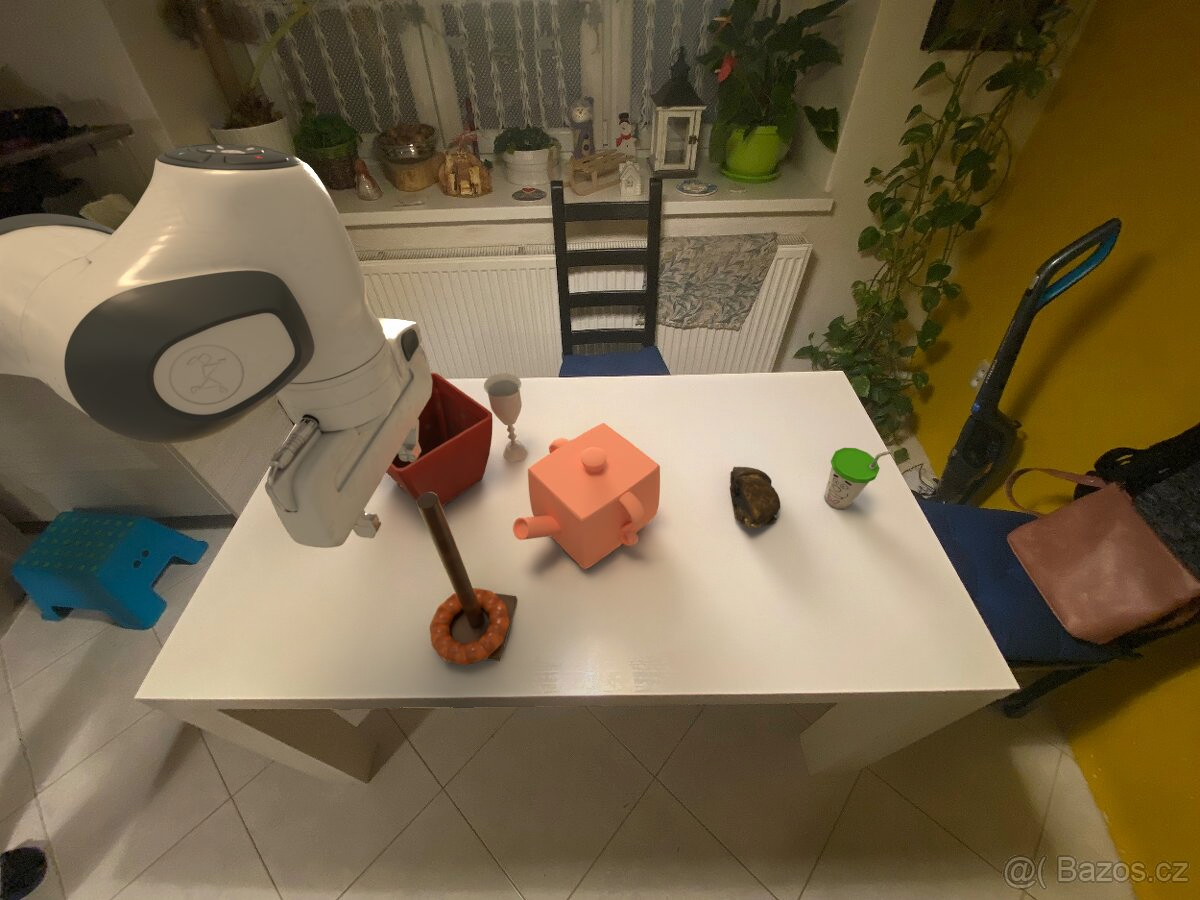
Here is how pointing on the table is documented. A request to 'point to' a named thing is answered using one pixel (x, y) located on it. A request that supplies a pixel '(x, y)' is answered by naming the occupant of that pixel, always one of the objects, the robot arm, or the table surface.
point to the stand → (460, 578)
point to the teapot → (591, 494)
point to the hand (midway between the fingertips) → (392, 491)
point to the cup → (850, 475)
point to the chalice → (507, 409)
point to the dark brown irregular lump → (753, 497)
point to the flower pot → (447, 445)
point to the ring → (478, 648)
